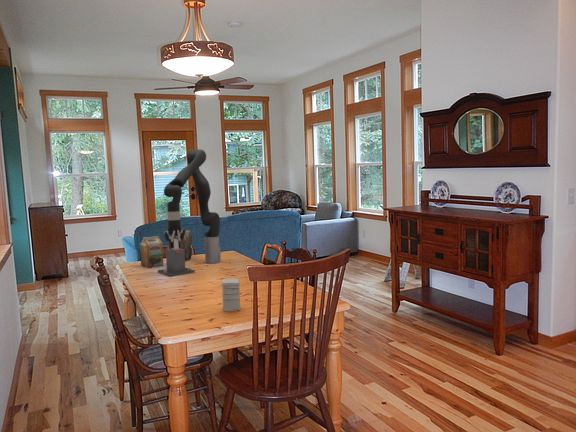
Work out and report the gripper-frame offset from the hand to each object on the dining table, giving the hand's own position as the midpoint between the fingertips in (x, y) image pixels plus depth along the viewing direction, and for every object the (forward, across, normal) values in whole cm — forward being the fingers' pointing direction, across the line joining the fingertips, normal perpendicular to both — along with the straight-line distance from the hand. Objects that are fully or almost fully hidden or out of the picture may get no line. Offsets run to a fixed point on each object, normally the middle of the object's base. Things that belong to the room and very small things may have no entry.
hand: (175, 247), depth 286 cm
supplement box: (+16, +19, +86) cm, 89 cm away
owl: (+15, -24, -35) cm, 45 cm away
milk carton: (+16, +1, -30) cm, 34 cm away
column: (+13, 0, 0) cm, 13 cm away
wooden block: (+15, -9, -16) cm, 24 cm away
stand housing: (+15, 0, 0) cm, 15 cm away
